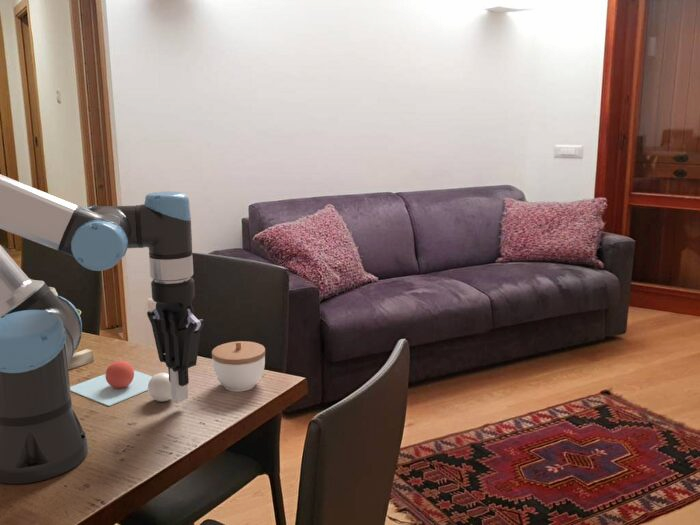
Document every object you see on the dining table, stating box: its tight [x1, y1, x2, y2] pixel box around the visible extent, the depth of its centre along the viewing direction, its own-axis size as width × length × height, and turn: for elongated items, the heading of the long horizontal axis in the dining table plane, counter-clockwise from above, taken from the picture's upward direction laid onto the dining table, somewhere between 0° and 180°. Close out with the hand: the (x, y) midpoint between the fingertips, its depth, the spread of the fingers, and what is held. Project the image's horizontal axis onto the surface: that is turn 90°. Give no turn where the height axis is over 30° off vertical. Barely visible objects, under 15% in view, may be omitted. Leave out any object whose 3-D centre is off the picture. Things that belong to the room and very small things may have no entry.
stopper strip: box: [68, 348, 95, 370], centre depth 145 cm, size 11×2×2 cm, turn 145°
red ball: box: [104, 360, 134, 388], centre depth 135 cm, size 6×6×6 cm
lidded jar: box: [211, 340, 266, 393], centre depth 135 cm, size 11×11×9 cm
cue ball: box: [148, 372, 172, 402], centre depth 129 cm, size 6×6×6 cm
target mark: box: [70, 369, 153, 407], centre depth 136 cm, size 14×14×1 cm
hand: (180, 399), depth 125 cm, fingers closed
